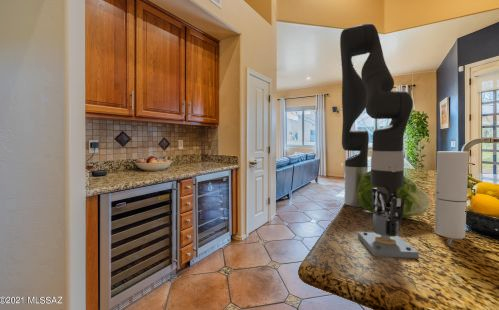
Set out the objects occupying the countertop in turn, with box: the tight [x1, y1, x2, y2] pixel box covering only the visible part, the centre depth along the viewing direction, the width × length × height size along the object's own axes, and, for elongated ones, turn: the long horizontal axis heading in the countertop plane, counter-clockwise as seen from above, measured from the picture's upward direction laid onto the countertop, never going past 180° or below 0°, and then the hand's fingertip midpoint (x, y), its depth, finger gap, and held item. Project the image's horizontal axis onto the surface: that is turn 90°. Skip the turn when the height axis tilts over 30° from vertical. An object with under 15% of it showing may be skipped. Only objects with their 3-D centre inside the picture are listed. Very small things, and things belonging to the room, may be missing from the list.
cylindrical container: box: [434, 150, 470, 240], centre depth 72 cm, size 7×7×25 cm
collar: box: [372, 211, 400, 237], centre depth 64 cm, size 6×6×5 cm
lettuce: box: [357, 170, 430, 219], centre depth 90 cm, size 17×23×17 cm
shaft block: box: [357, 214, 419, 259], centre depth 64 cm, size 12×10×8 cm
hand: (385, 230), depth 64 cm, fingers closed on collar, 5 cm apart
